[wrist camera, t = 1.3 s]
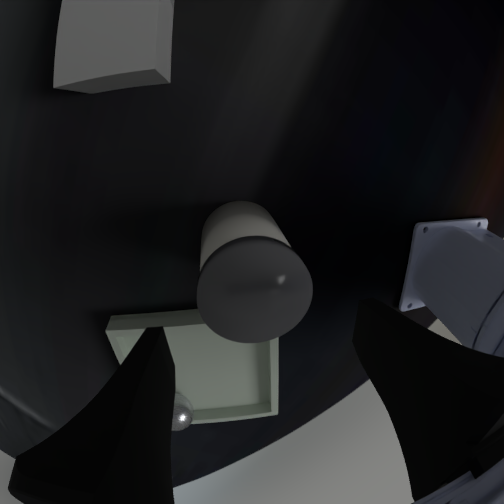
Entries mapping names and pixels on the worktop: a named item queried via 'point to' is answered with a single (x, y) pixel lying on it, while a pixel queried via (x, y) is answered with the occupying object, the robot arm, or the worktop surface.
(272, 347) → the tray
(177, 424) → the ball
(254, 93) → the worktop surface
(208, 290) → the cylinder
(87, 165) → the worktop surface
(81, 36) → the block
